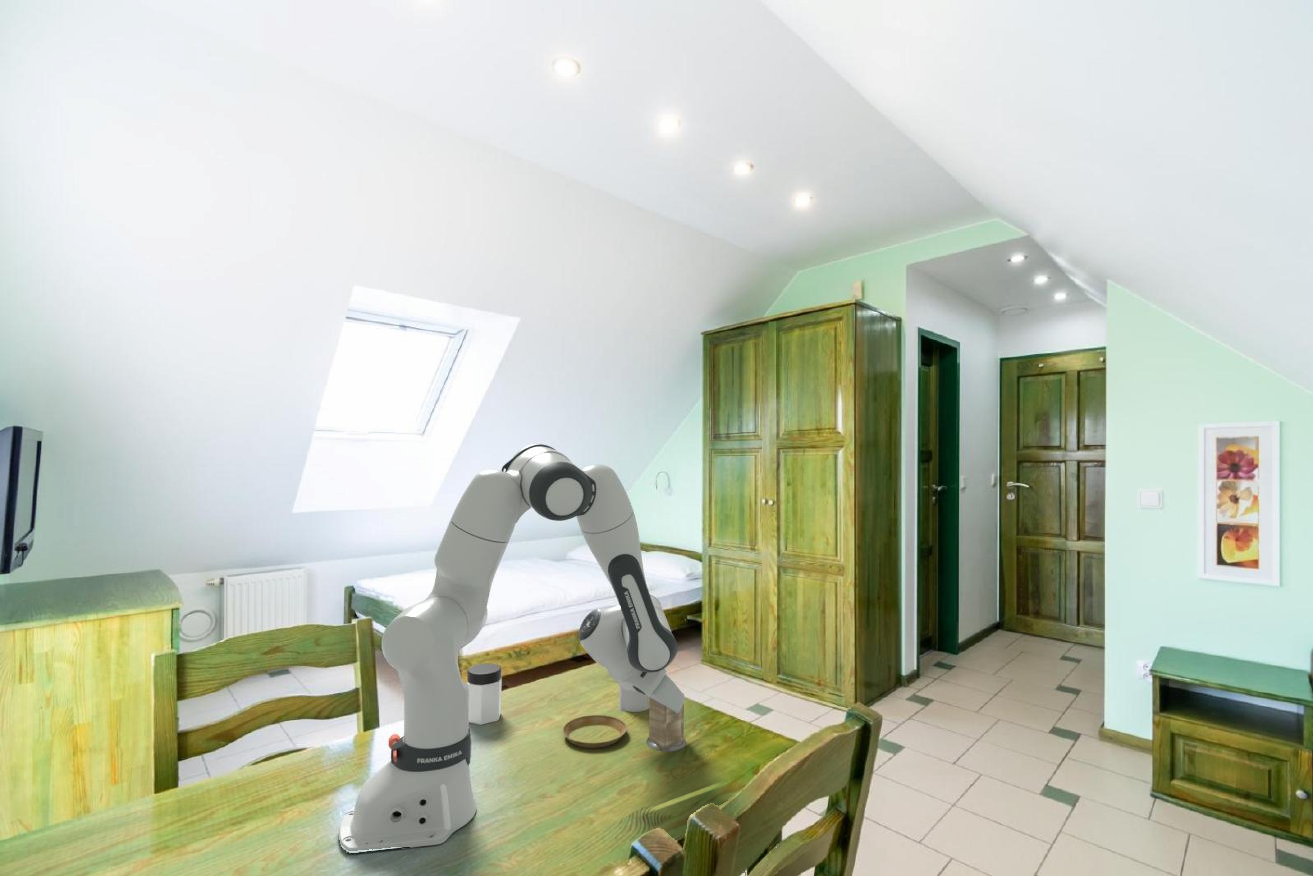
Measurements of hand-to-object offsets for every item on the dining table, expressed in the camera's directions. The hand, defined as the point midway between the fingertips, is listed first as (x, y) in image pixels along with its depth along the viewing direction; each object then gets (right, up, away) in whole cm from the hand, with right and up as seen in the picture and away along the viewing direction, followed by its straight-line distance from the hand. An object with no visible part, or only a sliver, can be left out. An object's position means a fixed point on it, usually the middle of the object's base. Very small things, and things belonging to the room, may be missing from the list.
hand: (668, 704), depth 142 cm
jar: (-46, -9, +13) cm, 48 cm away
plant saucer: (-17, -9, +2) cm, 19 cm away
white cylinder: (-8, -10, +20) cm, 24 cm away
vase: (-1, -8, -1) cm, 8 cm away
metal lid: (-1, -9, -1) cm, 9 cm away
